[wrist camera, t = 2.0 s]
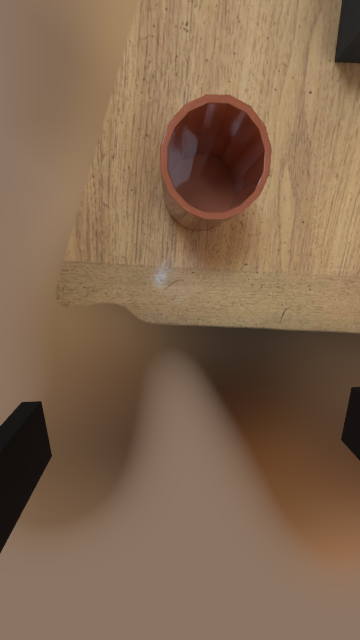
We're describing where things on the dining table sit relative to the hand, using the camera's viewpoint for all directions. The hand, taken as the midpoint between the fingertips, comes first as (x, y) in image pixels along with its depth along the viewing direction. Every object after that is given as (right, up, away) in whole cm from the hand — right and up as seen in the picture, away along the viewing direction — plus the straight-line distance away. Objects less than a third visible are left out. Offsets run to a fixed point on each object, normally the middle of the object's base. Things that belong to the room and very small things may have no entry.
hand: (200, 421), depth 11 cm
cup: (+1, +18, +17) cm, 25 cm away
